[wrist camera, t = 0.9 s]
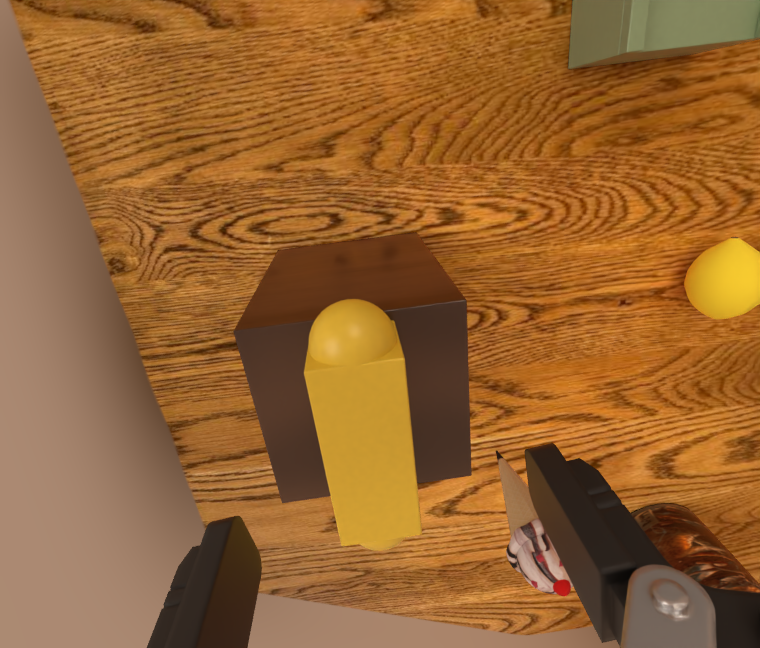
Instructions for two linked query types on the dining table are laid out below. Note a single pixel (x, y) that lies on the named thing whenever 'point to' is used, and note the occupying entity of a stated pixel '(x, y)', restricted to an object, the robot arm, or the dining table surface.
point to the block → (657, 28)
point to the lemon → (725, 279)
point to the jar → (693, 548)
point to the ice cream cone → (530, 537)
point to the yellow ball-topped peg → (364, 424)
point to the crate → (417, 338)
